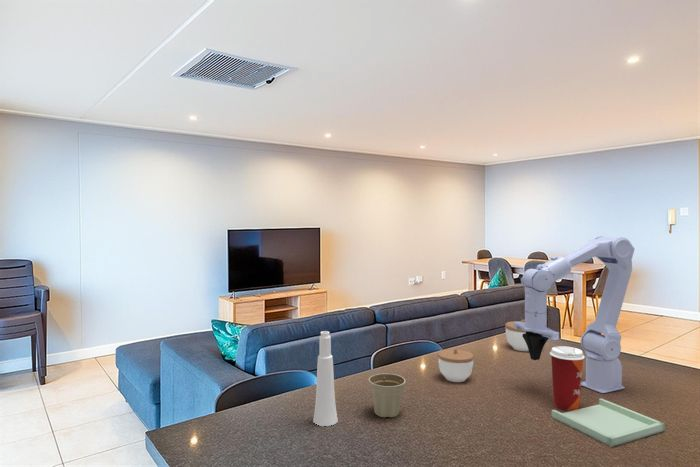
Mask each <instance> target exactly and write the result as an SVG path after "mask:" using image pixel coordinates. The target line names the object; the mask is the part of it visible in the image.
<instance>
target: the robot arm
mask: <svg viewBox="0 0 700 467" xmlns="http://www.w3.org/2000/svg"><path fill="white" fill-rule="evenodd" d="M634 252H635V247H634V245H633V244H632V242H631V241H630V240H629V239H628V238H626V237H610V236H609V237H608V236H607V237H606V236H602V235H600V236H596V237H594V239H593V238H592V239H589V240H588V242H587V243H586V244H583V245H582V246H581V247H579V248H577V249H576V250H574V251H573V252H571V253H569V254H568V255H565V256H564V257H563V256H560V255H558V256H557V255H556V256H555V255H553V256H551V257H550V260H548V261H546V262H544V263H543V264H541V263H540V264H538V265H536V268H529V269H526V270H525V271H524V272H523V274H522V277H520V282H521V284H522V286H523V289H524V320H525V323H523V322H514V329H520V330H524V331H526V334H522V337H523V338H524V340H525V342H526V344H527V346H528V350H529V351H528V353H529V357H530V359H531V360H532V361H538V360H540V359H541V355H542V352H543V349H544V347H545V345H546V343H547V342H548V340H549V339H550V340H551V341H557V340H558V341H559V340H560V332H559V331H556V330H553V329H551V328H549V327H547V323H548V322H547V319H548V315H547V312H548V311H547V309H548V308H547V306H548V302H547V301H548V290H549V289H550V288H551V287H552V284H553V283H555V282H556V281H558V280H561V279H562V278H564V277H566V276H567V275H569V274H571V271H572V268H573V267H576V266H579V265H581V264H582V263H584V262H586V261H588V260H591V259H592V258H595V257H596V258H597V259H598V260H599V261H600V262H602V263H603V264H604V265H605V267H606V268H607V270H608V274H607V277H606V281H605V284H604V288H603V292H602V296H601V297H600V302H599V305H598V308H597V312H596V317H595V319H594V321H593V322H591V323H589V324H588V325H587V326H586V329H585V331H584V333H583V334H581V337H580V342H579V344H580V346H581V347H582V349H583V350H584V354H585V381H581V387H585V388H587V389H590V390H592V391H595V392H597V393H600V394H607V393H611V392H615V391H619V390H620V391H621V390H624V389H625V386H623V384H622V383H623V382H622V381H623V378H622V377H623V373H622V372H623V367H622V362H621V360H620V359H619V356H620V353H621V352H622V345H621V341H622V335H621V334H620V332H619V331H618V329H617V325H618V322H619V317H620V315H621V311H622V307H623V304H624V300H625V296H626V292H627V289H628V286H629V282H630V279H631V275H632V272H633V263H632V262H633V261H632V259H633V256H634Z"/></svg>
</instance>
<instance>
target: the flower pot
mask: <svg viewBox="0 0 700 467" xmlns="http://www.w3.org/2000/svg"><path fill="white" fill-rule="evenodd" d="M368 383H369V384H370V387H371V388H370V389H371V394H372V400H373V409H374V410H373V411H374V414H375V415H377V416H378V417H380V418H387V417H388V418H395V417H397V416H398V415H399V413H400V407H401V400H402V394H403V389H404V386H405V384H406V379H405V377H403V376H402V375H399V374H395V373H377V374H372V375H371V376H370V377H368Z"/></svg>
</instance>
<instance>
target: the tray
mask: <svg viewBox="0 0 700 467" xmlns="http://www.w3.org/2000/svg"><path fill="white" fill-rule="evenodd" d="M551 418H552V419H554V420H555V421H558V422H560V423H561V424H563V425H565V426H567V427H570V428H572V429H574V430H576V431H578V432H580V433H582V434H584V435H586V436H589V437H590V438H592V439H594V440H596V441H598V442H600V443H602V444H604V445H606V446H609V447H610V448H614V447H617V446H621V445H623V444H624V445H625V444H627V443H630V442H634V441H637V440H640V439H644V438H646V437H650V436H653V435H656V434H660V433H663V432H665V428H666V427H665V423H664V422H661V421H659V420H657V419H654V418H652V417H649V416H646V415H644V414H642V413H639V412H636V411H634V410H631V409H629V408H627V407H624V406H622V405H619V404H616V403H614V402H611V401H609V400H606V399H604V398H599V399H598V404H595V405H591V406H586V407H582V408H579V409H578V410H574V411H565V412H560V411H558V410H556V409H552V410H551Z"/></svg>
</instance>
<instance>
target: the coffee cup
mask: <svg viewBox="0 0 700 467" xmlns="http://www.w3.org/2000/svg"><path fill="white" fill-rule="evenodd" d="M549 355H550V357H551V374H552V375H551V376H552V393H553V394H552V396H553V405H554V406H555V407H556V408H557V409H559V410H562V411H565V412H569V411H574V410H578V409H580V404H581V395H582V394H581V392H582V385H581V382H583V380H582V379H583V378H582V377H583V366H584V365H583V364H584V359H586V356H585V355H584V352H583V350H582V349H580V348H576V347H572V346H565V345H563V346H562V345H559V346H553V347H552V348H551V351H549Z"/></svg>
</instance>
